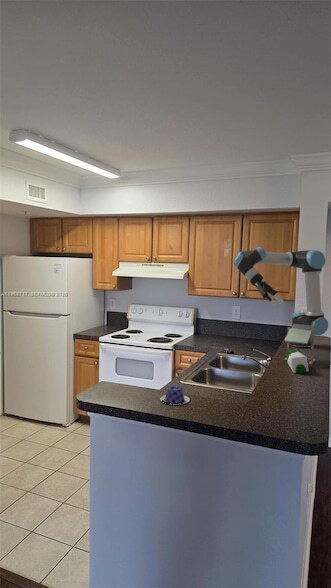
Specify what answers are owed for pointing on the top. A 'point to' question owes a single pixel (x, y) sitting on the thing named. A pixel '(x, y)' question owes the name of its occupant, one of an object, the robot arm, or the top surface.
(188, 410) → the top surface
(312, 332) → the trapdoor stand
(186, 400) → the pudding
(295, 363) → the soya milk
